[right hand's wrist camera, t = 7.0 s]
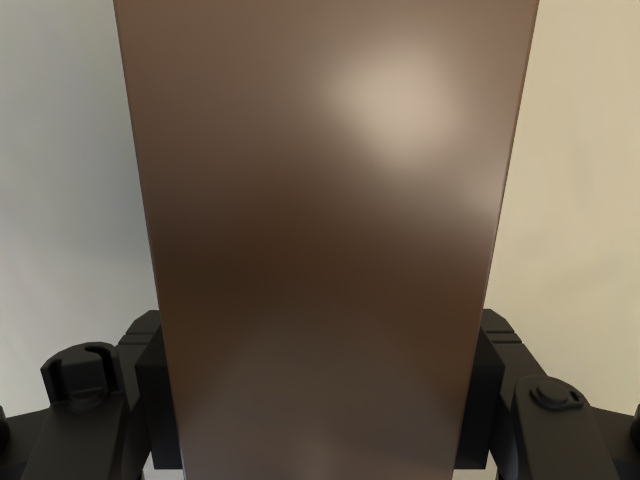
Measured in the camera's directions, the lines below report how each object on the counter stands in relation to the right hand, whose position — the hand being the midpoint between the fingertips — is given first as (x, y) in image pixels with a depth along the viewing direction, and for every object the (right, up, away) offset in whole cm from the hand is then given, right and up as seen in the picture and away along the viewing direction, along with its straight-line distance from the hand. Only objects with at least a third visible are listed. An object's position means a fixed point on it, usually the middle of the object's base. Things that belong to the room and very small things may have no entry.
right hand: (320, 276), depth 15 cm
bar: (0, +27, -10) cm, 29 cm away
